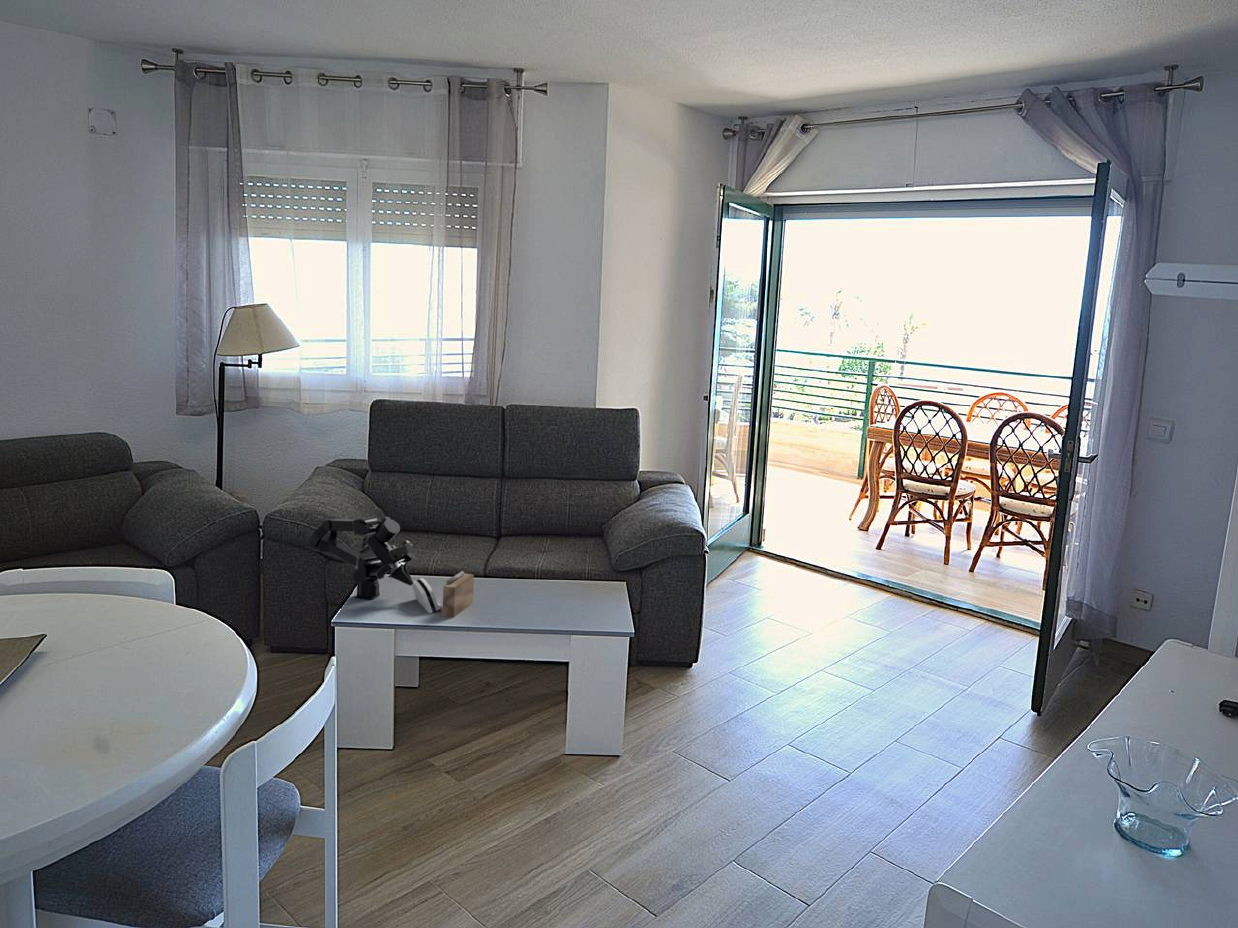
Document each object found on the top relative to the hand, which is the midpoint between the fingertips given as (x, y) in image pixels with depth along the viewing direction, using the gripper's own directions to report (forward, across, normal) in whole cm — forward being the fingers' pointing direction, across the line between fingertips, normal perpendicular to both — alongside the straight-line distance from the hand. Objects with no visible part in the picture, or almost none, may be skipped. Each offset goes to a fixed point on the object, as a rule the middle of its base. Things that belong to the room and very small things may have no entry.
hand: (411, 584), depth 314 cm
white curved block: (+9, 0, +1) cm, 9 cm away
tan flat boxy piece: (+16, +1, -7) cm, 18 cm away
